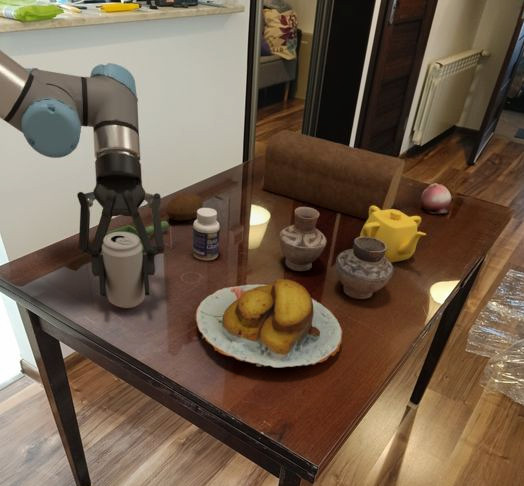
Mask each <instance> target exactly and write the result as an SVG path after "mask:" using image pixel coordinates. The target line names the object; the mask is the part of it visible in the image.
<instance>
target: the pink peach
mask: <svg viewBox="0 0 524 486" xmlns="http://www.w3.org/2000/svg"><path fill="white" fill-rule="evenodd" d="M451 201H452V195H451V193H450V191H449V190H448V188H447V187H446V186H445V185H444V184H439V183H436V182H433V183H431V184H429V185H428V187H426V188H425V189H424V190H423V192H422V194H421V198H420V204H421V207H422V208H423V209H424V211H425V212H427V213H429V214H432V215H435V214H436V215H437V214H446V213H448V208H447V207H448V206H449V205H450V204H451Z"/></svg>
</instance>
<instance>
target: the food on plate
mask: <svg viewBox="0 0 524 486" xmlns="http://www.w3.org/2000/svg"><path fill="white" fill-rule="evenodd" d="M194 314H195V317H194V320H195V322H196V327H197V328H198V331H199V332H200V333H201V334H202V336H201V339H205V341H206V342H207V343H208V344H210V345H211V346H212V347H213V349H214V351H217V352H218V353H220V356H222V355H224V356H227V357H232V358H235V360H238V361H241V362H245V363H250V364H255V366H256V367H258V368H259V367H262V366H263V367H269V366H270V367H272V368H287V367H290V368H293V367H296V366H297V367H301V366H309V365H313V366H315V365H316V364H317V363H323V362H324V361H327V360H328V359H329V357H330V356H332V357H334V356H335V355H336V354H337V352H339V351H340V347H341V344H342V343H343V333H344V330H343V328H342V326H341V324H340V323H339V320H338V319H337V318H336V317H335V315H334V313H332V311H331V310H330V309H329V308H327V307H325V306H324V305H323V304H322V303H320V302H318V301H317V300H316V299H314V298H312V297H311V294H310V293H309V291H308V290H307V289H306V288H305V287H304V285H302V284H300V283H298V282H296V281H294V280H291V279H288V278H284V279H282V278H277V279H275V280H274V282H273V284H257V283H256V284H245V285H237V286H230V287H227V286H226V287H223V288H220V289H217V290H216V291H214V292H212V294H209V295H208V296H206V297H205V298H204V299H203V300H200V302H199V304H198V306H197V307H196V310H195V313H194Z"/></svg>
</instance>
